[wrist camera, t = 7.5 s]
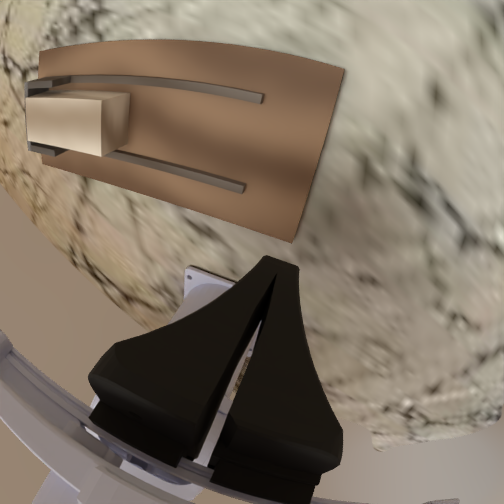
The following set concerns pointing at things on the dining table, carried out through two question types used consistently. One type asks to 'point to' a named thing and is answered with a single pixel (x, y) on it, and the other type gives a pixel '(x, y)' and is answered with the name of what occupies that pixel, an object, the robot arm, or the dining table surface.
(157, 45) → the board
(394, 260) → the dining table surface
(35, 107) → the cream rectangular block
